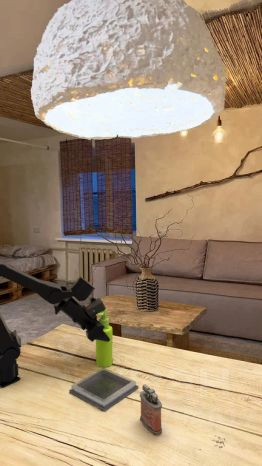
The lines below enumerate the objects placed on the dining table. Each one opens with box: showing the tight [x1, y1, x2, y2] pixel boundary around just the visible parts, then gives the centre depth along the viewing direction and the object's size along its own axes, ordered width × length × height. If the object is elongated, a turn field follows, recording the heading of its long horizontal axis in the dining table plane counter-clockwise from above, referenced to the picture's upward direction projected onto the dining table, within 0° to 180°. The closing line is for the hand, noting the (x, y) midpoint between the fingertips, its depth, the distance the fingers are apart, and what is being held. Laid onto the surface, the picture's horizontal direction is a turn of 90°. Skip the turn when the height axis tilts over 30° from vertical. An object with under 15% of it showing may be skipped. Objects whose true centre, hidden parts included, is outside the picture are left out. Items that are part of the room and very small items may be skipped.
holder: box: [69, 367, 139, 413], centre depth 106 cm, size 15×15×2 cm
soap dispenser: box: [95, 308, 114, 368], centre depth 121 cm, size 6×7×20 cm
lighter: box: [139, 383, 163, 436], centre depth 89 cm, size 8×3×10 cm, turn 30°
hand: (107, 337), depth 122 cm, fingers closed on soap dispenser, 6 cm apart
